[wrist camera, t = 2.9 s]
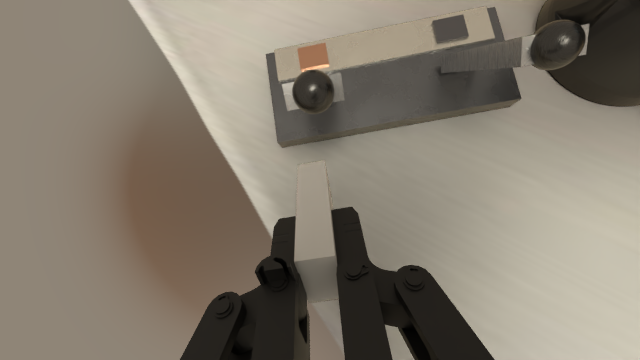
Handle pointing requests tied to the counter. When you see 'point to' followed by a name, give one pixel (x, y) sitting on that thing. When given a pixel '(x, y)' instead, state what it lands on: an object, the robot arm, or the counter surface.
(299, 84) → the outer lever
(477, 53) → the inner lever
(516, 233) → the counter surface
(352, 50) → the switch base
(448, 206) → the counter surface
